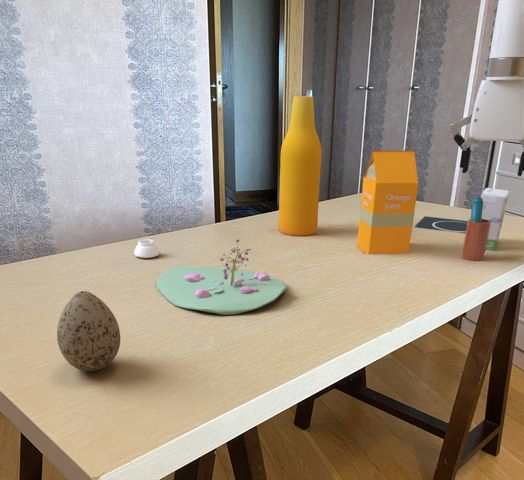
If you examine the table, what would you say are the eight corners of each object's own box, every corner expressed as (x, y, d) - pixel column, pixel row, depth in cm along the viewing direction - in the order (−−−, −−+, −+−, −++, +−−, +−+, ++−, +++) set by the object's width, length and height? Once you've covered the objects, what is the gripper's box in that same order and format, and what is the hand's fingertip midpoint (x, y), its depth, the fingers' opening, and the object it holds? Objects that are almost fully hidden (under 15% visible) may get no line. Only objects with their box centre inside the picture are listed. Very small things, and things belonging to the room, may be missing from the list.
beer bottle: (270, 231, 126) (273, 95, 113) (294, 224, 132) (300, 95, 119) (300, 238, 120) (307, 97, 107) (324, 231, 126) (334, 96, 113)
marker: (478, 256, 107) (484, 196, 102) (477, 259, 106) (483, 198, 101) (467, 256, 108) (473, 196, 103) (466, 258, 107) (472, 197, 102)
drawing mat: (496, 225, 134) (497, 223, 134) (490, 240, 121) (491, 238, 121) (424, 217, 141) (424, 215, 141) (411, 230, 128) (411, 228, 128)
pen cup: (483, 258, 108) (492, 219, 105) (481, 264, 105) (490, 224, 101) (462, 256, 110) (469, 217, 106) (459, 261, 106) (467, 221, 103)
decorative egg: (57, 362, 66) (43, 287, 62) (114, 350, 69) (104, 277, 65) (70, 388, 61) (56, 308, 56) (131, 373, 64) (122, 296, 59)
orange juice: (408, 255, 110) (423, 152, 101) (368, 256, 109) (379, 153, 100) (394, 244, 117) (407, 148, 108) (356, 245, 115) (365, 148, 106)
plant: (118, 293, 88) (112, 239, 84) (193, 261, 104) (191, 215, 100) (246, 326, 77) (246, 266, 73) (308, 285, 93) (311, 234, 89)
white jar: (145, 250, 110) (129, 256, 106) (144, 236, 109) (127, 242, 105) (164, 254, 108) (149, 260, 104) (163, 240, 106) (148, 246, 103)
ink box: (494, 252, 112) (507, 196, 107) (470, 249, 114) (481, 193, 109) (498, 243, 119) (510, 189, 114) (475, 240, 121) (485, 187, 116)
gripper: (565, 70, 91) (543, 173, 99) (461, 72, 98) (447, 168, 106) (566, 69, 85) (542, 179, 93) (455, 71, 92) (441, 173, 100)
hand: (491, 173), depth 100 cm, fingers open, 9 cm apart
